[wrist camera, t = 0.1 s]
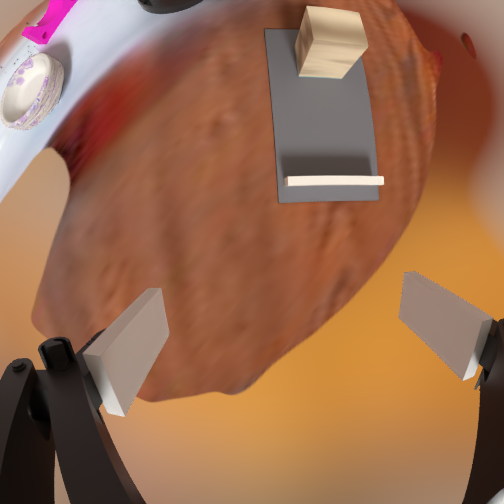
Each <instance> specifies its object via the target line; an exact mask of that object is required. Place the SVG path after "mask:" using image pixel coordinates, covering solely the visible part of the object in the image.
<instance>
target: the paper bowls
mask: <svg viewBox="0 0 504 504" xmlns="http://www.w3.org/2000/svg"><path fill="white" fill-rule="evenodd" d="M63 81H64V68H63V66H62V64H61V62H59V61H58V60H56V59H54V58H53V57H51V56H49V55H47V54H46V53H38V54H35V55H33V56H31V57H30V58H28V59H27V60H26V61H24V62H23V63H22V64H21V65H20V67H19V68H18V69H17V70H16V71H15V73H14V74H13V76H12V77H11V79H10V81H9V83H8V84H7V87H6V89H5V91H4V94H3V97H2V102H1V109H0V115H1V120H2V122H3V124H4V125H5V126H7V127H9V128H14V129H19V130H29V129H32V128H33V127H35V126H37V125H38V124H39V123H40V122H41V121H42V120H43V119H44V118H45V117H46V116H47V115H48V114H49V113H50V112H51V111H52V109H53V108H54V107H55V105H56V103H57V102H58V100H59V97H60V94H61V91H62V85H63Z"/></svg>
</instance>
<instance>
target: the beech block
mask: <svg viewBox="0 0 504 504" xmlns="http://www.w3.org/2000/svg"><path fill="white" fill-rule="evenodd" d="M368 47H369V46H368V42H367V38H366V35H365V31H364V28H363V25H362V21H361V18H360V15H359V13H357V12H352V11H346V10H339V9H332V8H324V7H314V6H306V9H305V13H304V16H303V19H302V23H301V26H300V29H299V33H298V36H297V40H296V43H295V46H294V48H295V55H296V62H297V69H298V77H317V78H332V79H342V78H343V77H344V75H345V74H346V73H347V72H348V70H349V69H350V68H351V67H352V66H353V64H354V63H355V62H356V61H357V60H358V58H359V57H360V56H361V55H362V54H363V52H364V51H365V50H366V49H367V48H368Z"/></svg>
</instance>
